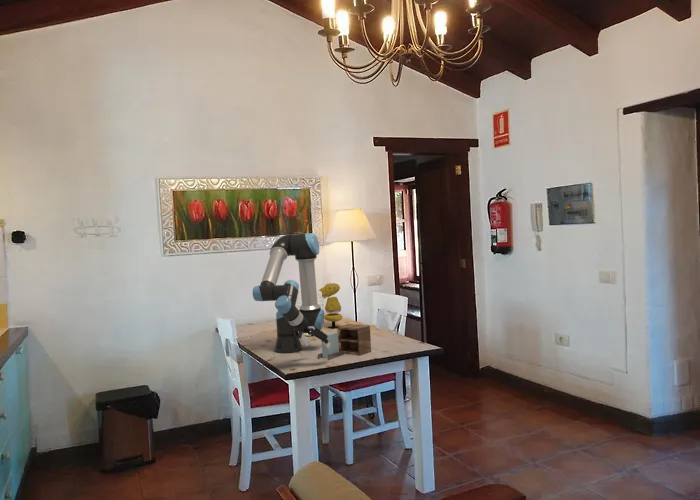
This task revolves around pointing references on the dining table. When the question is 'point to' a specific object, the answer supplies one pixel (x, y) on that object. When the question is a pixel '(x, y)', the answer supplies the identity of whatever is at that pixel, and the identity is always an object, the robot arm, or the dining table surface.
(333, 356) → the cabinet
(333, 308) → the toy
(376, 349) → the dining table surface
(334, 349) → the grey rectangular block
